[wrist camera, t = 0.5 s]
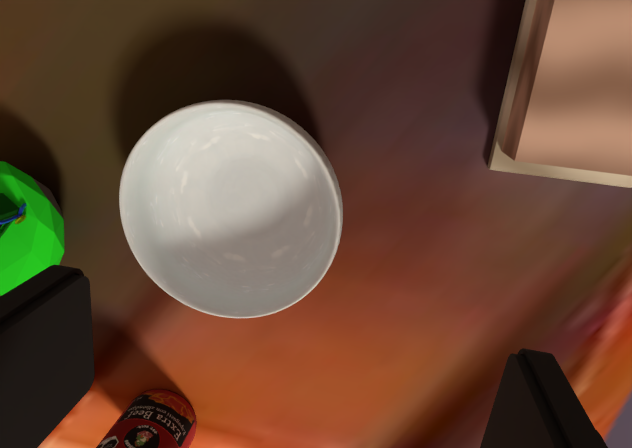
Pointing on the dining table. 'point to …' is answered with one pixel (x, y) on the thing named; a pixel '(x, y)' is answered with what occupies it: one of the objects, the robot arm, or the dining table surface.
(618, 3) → the pedestal
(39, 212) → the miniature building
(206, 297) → the cereal bowl
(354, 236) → the dining table surface
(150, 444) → the canned food
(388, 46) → the dining table surface
